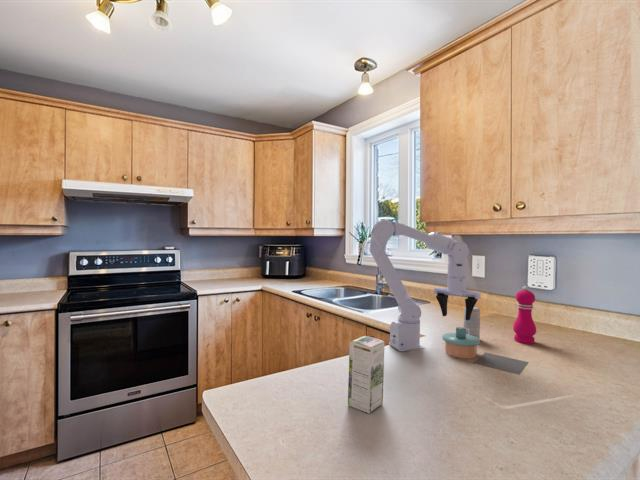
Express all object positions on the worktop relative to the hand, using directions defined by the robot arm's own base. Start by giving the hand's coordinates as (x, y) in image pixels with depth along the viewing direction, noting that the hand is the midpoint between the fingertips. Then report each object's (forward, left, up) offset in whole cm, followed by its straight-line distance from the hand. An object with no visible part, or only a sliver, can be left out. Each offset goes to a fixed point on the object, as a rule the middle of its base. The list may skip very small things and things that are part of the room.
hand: (456, 317), depth 114 cm
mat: (+4, -15, -10) cm, 19 cm away
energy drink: (+12, +6, -11) cm, 17 cm away
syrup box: (-45, -26, -11) cm, 53 cm away
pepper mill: (+30, 0, -11) cm, 32 cm away
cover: (-2, -5, -6) cm, 8 cm away
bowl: (-2, -5, -10) cm, 12 cm away
